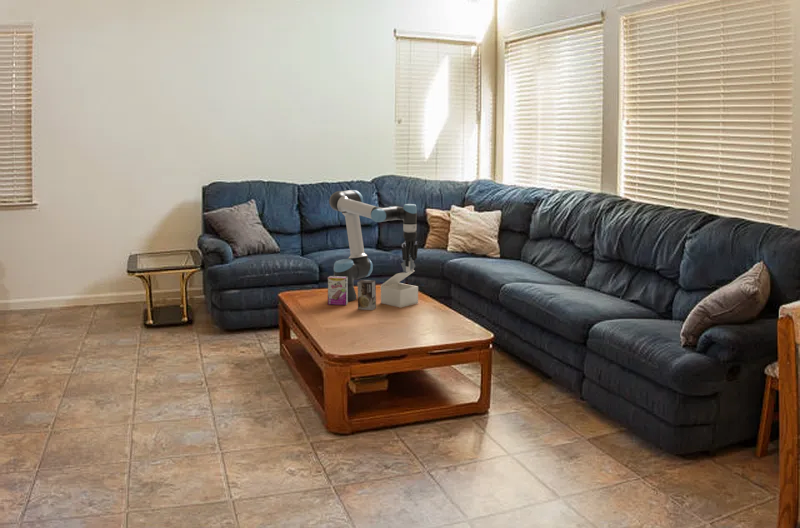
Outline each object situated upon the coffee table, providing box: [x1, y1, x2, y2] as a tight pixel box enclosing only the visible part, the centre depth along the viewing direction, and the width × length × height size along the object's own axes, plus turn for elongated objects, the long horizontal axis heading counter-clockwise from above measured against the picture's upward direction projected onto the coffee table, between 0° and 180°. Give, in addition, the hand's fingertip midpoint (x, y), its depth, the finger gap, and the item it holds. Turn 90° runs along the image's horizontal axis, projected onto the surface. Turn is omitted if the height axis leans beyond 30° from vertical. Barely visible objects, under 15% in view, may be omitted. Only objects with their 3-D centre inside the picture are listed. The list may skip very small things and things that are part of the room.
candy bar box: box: [327, 275, 349, 306], centre depth 453 cm, size 11×5×16 cm, turn 84°
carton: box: [380, 282, 419, 308], centre depth 456 cm, size 16×15×10 cm
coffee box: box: [356, 279, 377, 311], centre depth 442 cm, size 9×6×16 cm
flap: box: [380, 257, 416, 287], centre depth 453 cm, size 24×15×6 cm, turn 46°
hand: (409, 271), depth 448 cm, fingers closed on flap, 2 cm apart
